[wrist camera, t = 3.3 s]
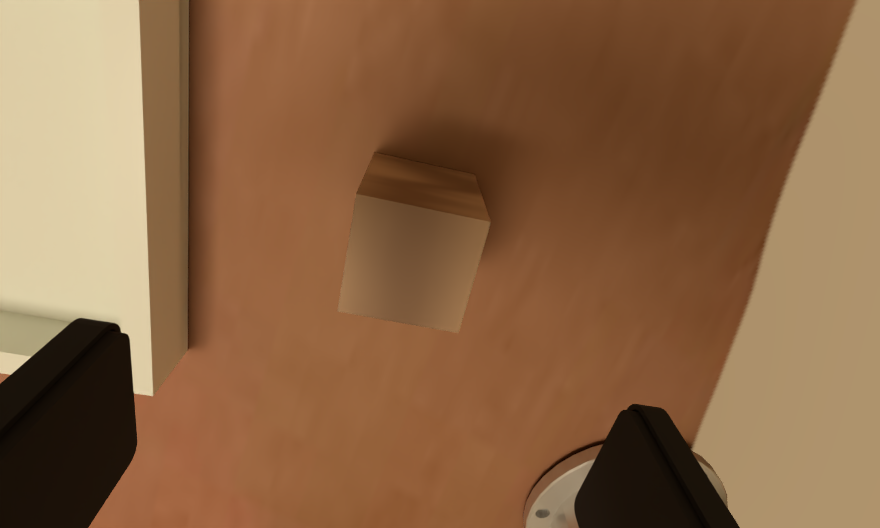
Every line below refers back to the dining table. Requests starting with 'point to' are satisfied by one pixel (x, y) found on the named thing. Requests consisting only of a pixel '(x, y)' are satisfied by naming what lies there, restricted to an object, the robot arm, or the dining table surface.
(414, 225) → the block
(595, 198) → the dining table surface
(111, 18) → the tray
